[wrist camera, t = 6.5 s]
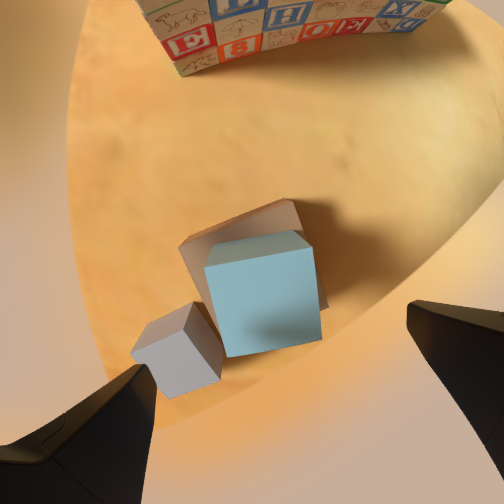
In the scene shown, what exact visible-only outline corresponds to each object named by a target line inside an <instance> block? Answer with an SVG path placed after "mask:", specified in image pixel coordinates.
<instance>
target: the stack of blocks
mask: <svg viewBox="0 0 504 504" xmlns="http://www.w3.org/2000/svg"><path fill="white" fill-rule="evenodd" d="M135 1H136V3H137V4H138V6H139V7H140V9H141V12H142V15H143V17H144V18H145V20H146V21H147V22H148V24H149V26H150V28H151V29H152V31H153V32H154V34H155V36H156V37H157V39H158V40H159V41H160V43H161V44H162V46H163V48H164V49H165V51H166V53H167V54H168V56H169V57H170V59H171V60H172V62H173V64H174V66H175V68H176V70H177V71H178V73H179V75H180V76H181V77H184V76H187V75H189V74H192V73H194V72H197V71H199V70H202V69H205V68H207V67H210V66H213V65H216V64H219V63H225V62H228V61H231V60H234V59H237V58H240V57H243V56H247V55H250V54H254V53H258V52H260V51H265V50H270V49H274V48H278V47H282V46H287V45H291V44H295V43H297V42H299V41H305V40H310V39H317V38H323V37H329V36H331V35H332V36H333V35H342V34H350V33H360V32H361V33H379V32H412V31H413V30H415V29H416V28H417V27H419V26H420V25H421V24H423V23H424V22H425V21H427V19H430V18H431V17H432V16H434V15H435V14H437V13H438V12H439V11H441V10H442V9H444V8H445V7H446V4H448V3H449V2H451V1H452V0H135Z"/></svg>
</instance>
